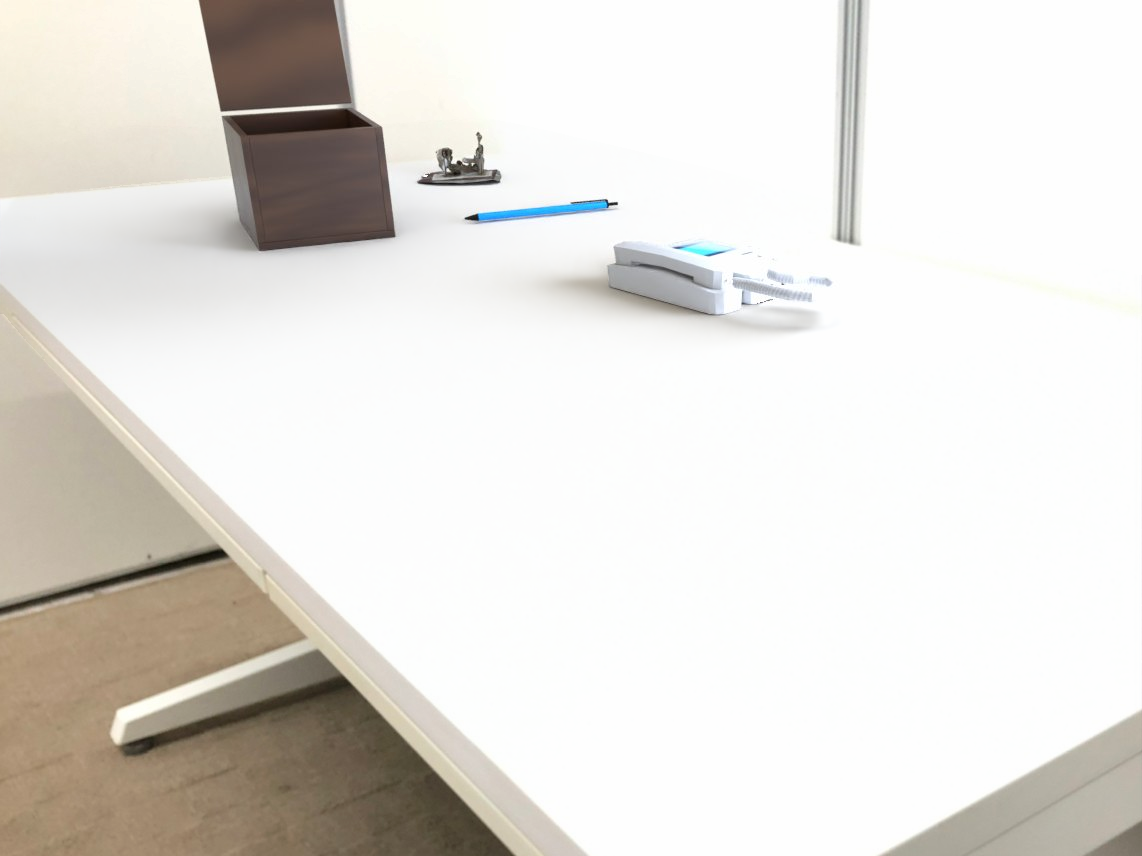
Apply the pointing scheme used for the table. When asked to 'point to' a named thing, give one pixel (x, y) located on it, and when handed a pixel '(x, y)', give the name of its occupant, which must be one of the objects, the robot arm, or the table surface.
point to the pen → (543, 210)
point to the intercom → (714, 275)
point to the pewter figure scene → (461, 168)
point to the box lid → (275, 53)
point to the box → (309, 177)
